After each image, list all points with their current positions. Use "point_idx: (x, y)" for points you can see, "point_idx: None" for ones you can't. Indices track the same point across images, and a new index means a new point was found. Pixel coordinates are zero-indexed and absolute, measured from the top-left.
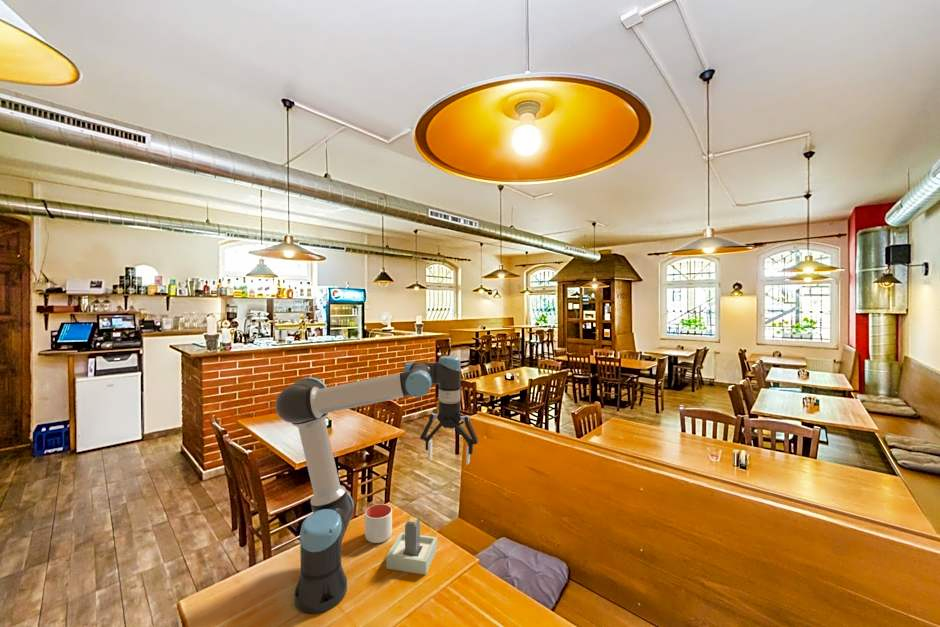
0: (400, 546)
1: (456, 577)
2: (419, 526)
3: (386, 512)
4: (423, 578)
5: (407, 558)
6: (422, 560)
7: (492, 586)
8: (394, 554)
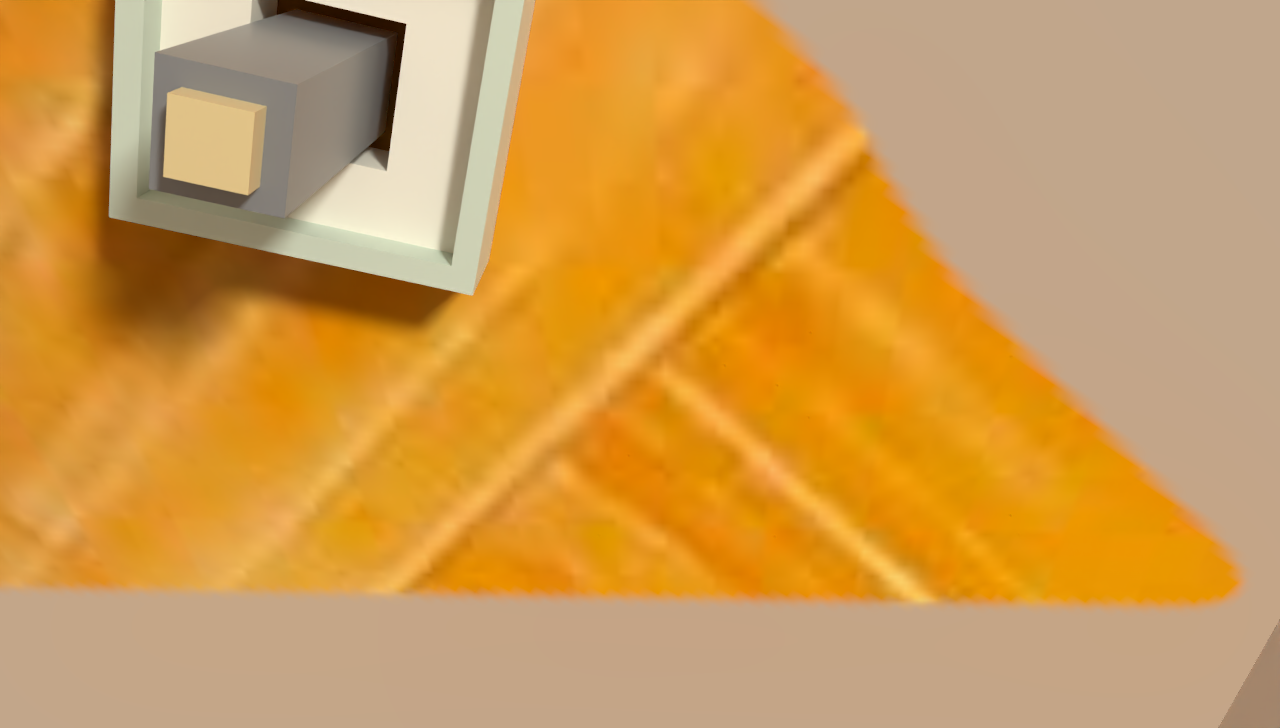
0: (190, 26)
1: (724, 287)
2: (317, 89)
3: None
4: (475, 294)
5: (305, 257)
6: (440, 283)
7: (979, 373)
8: None
